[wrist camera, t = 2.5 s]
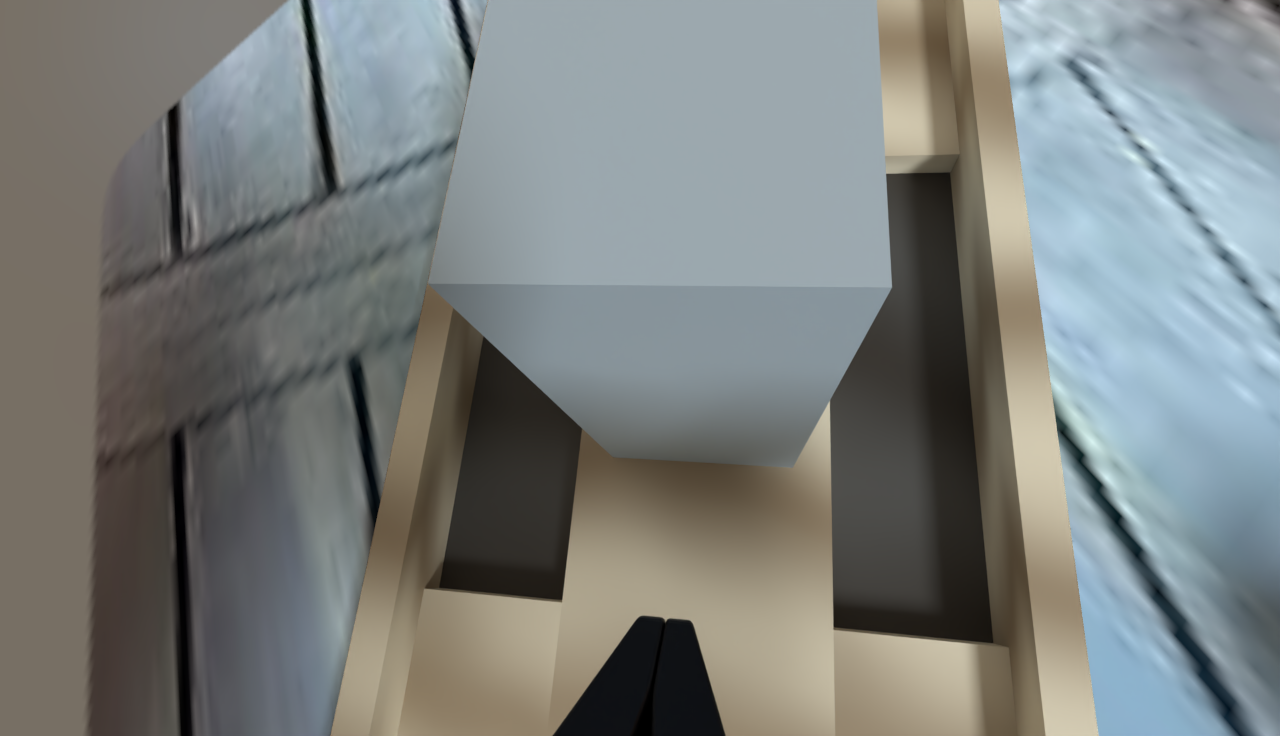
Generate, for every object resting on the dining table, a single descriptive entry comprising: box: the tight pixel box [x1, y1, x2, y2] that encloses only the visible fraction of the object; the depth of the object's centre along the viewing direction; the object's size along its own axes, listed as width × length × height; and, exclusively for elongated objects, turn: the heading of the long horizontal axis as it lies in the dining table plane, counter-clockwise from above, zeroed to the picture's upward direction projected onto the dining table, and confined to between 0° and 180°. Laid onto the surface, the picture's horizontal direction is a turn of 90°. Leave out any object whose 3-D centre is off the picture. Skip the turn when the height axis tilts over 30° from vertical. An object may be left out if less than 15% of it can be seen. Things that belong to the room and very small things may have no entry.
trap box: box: [330, 0, 1098, 736], centre depth 18 cm, size 30×17×2 cm, turn 175°
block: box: [428, 0, 892, 468], centre depth 13 cm, size 10×5×11 cm, turn 175°
